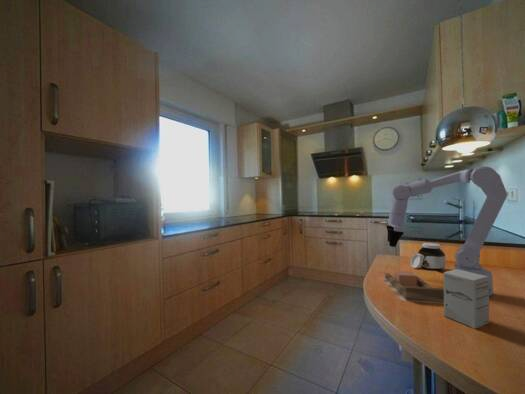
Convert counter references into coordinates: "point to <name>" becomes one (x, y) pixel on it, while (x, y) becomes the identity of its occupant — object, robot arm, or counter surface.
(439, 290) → the channel
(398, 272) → the block
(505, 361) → the counter surface
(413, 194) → the robot arm
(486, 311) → the supplement box
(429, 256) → the spread jar
